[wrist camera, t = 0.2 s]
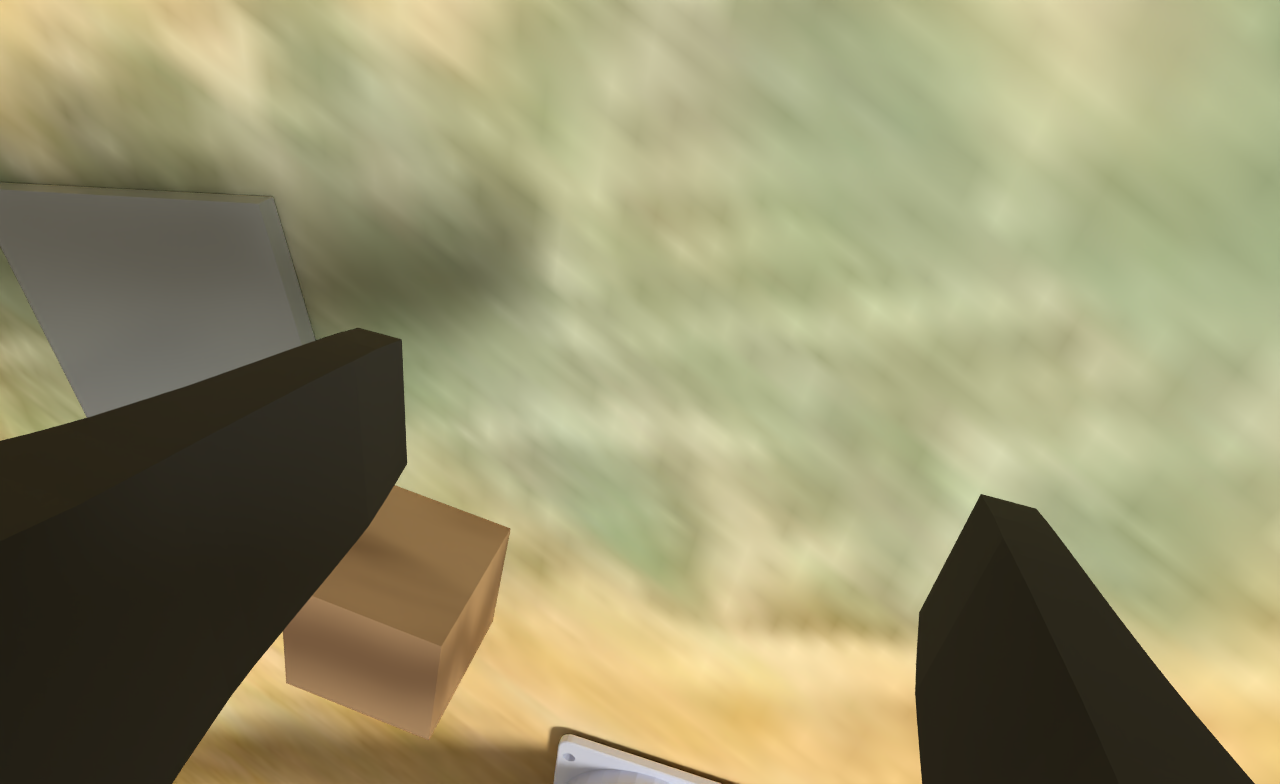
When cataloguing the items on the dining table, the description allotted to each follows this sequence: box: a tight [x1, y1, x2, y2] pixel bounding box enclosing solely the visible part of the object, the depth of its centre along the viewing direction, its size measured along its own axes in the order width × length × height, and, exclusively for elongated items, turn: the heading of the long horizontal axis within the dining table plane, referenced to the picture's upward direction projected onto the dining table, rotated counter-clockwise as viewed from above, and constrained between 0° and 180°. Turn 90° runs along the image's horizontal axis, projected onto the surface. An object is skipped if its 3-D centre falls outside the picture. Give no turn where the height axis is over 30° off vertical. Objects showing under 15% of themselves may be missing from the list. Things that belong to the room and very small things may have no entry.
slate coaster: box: [0, 182, 316, 418], centre depth 24 cm, size 10×10×1 cm
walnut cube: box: [283, 485, 510, 740], centre depth 25 cm, size 5×5×5 cm
